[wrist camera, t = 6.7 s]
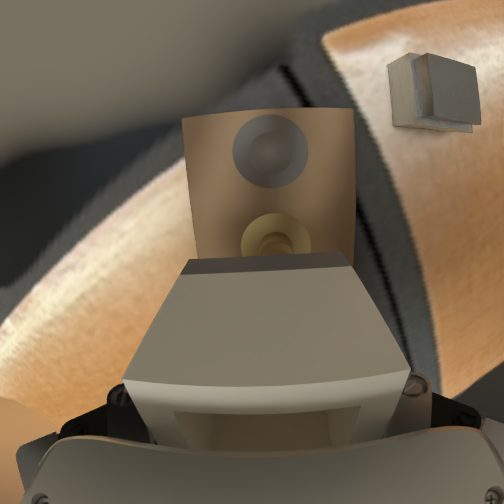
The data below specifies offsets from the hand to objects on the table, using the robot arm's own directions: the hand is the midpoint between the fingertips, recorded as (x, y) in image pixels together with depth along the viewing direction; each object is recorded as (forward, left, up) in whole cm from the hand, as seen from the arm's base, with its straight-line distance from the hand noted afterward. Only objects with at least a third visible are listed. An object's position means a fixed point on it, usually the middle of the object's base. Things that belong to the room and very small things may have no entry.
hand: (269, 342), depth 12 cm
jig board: (0, -4, -12) cm, 12 cm away
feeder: (-12, -12, -12) cm, 21 cm away
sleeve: (0, 0, -2) cm, 2 cm away
